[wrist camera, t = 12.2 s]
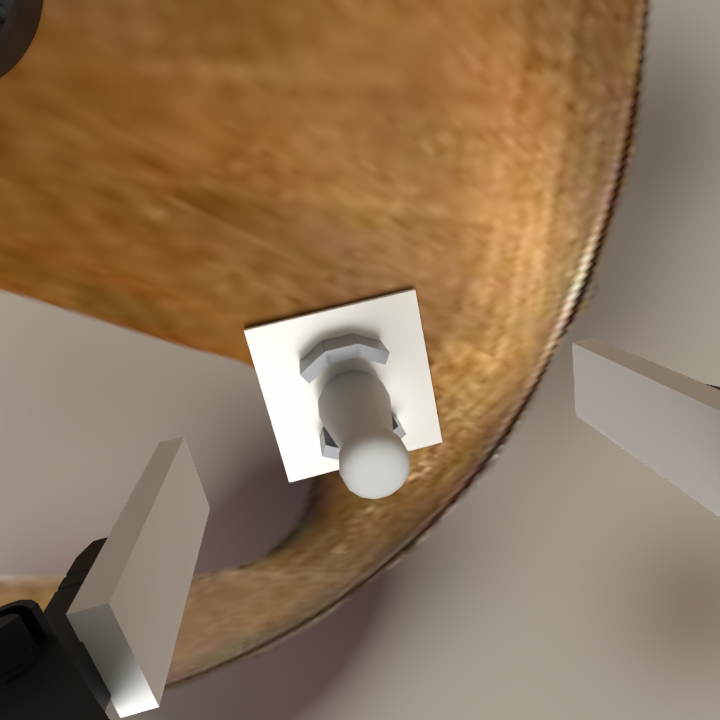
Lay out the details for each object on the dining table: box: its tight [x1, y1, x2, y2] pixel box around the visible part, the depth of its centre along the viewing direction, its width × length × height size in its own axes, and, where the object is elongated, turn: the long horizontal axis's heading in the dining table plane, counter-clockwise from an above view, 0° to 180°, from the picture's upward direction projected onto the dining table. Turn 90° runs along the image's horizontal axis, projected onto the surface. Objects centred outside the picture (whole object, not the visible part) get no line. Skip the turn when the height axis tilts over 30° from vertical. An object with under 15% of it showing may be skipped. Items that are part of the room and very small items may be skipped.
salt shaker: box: [318, 370, 410, 499], centre depth 33 cm, size 6×6×13 cm
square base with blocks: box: [244, 289, 442, 482], centre depth 38 cm, size 14×14×4 cm
